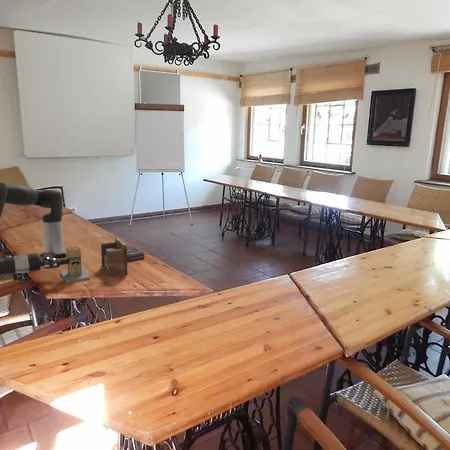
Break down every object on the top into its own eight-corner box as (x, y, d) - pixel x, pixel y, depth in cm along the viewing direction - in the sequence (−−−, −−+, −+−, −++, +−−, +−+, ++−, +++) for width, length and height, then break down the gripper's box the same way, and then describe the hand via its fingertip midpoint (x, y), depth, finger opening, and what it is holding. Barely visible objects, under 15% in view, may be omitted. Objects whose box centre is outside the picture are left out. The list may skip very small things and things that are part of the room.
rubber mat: (61, 273, 181) (60, 271, 181) (83, 270, 186) (83, 268, 186) (65, 282, 171) (65, 280, 171) (89, 279, 176) (89, 277, 176)
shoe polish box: (81, 275, 177) (80, 249, 175) (70, 277, 175) (68, 251, 172) (79, 271, 181) (77, 246, 179) (67, 273, 179) (66, 248, 176)
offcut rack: (101, 267, 191) (100, 239, 188) (118, 264, 195) (117, 237, 192) (109, 276, 179) (108, 247, 176) (127, 274, 183) (126, 245, 180)
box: (104, 254, 213) (119, 264, 198) (104, 248, 212) (118, 257, 197) (129, 250, 221) (144, 259, 206) (128, 244, 220) (144, 252, 205)
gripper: (28, 259, 160) (70, 254, 168) (24, 250, 172) (64, 245, 180) (29, 277, 162) (71, 271, 170) (26, 266, 174) (65, 261, 182)
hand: (67, 258), depth 175 cm, fingers open, 8 cm apart
